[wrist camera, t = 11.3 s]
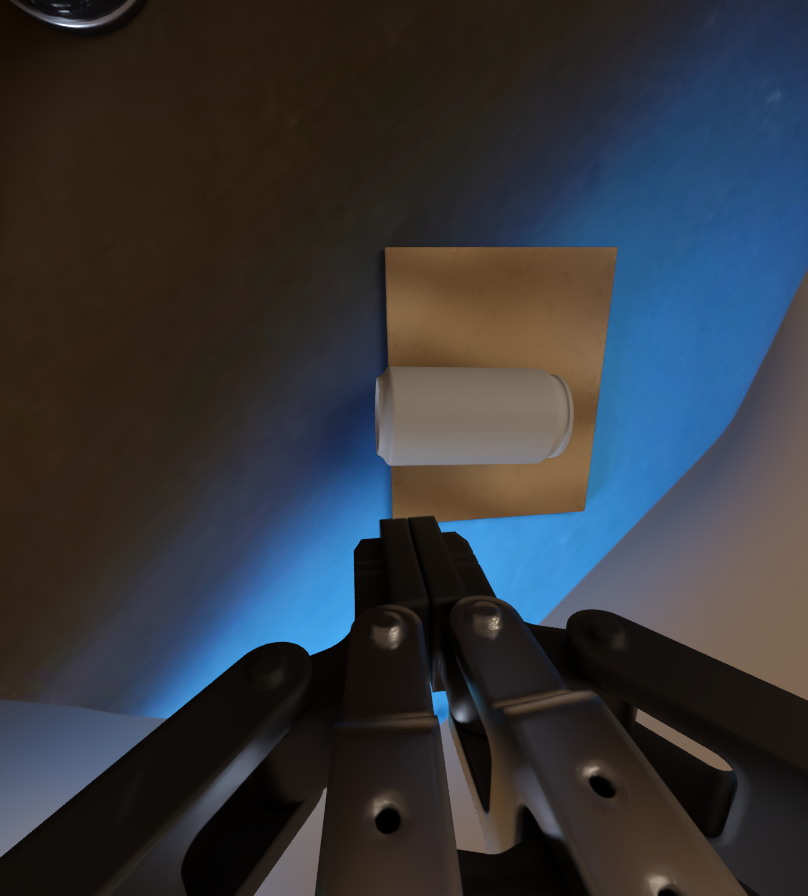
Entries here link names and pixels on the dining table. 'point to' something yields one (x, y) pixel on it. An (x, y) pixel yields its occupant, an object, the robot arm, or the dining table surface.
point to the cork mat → (501, 361)
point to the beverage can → (471, 415)
